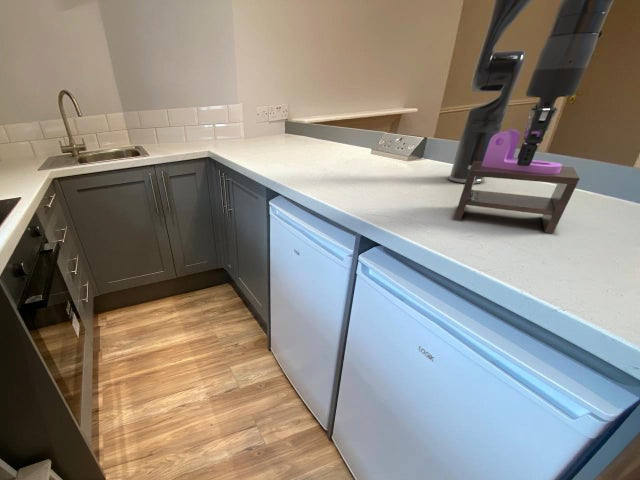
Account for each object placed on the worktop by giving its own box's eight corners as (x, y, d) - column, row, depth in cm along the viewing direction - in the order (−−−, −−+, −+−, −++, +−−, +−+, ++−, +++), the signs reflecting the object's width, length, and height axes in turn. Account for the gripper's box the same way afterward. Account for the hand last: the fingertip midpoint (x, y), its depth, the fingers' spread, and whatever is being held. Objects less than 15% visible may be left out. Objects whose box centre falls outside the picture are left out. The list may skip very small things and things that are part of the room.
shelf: (459, 206, 86) (474, 160, 80) (549, 218, 77) (573, 167, 71) (453, 219, 78) (469, 169, 72) (553, 233, 69) (580, 178, 64)
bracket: (481, 166, 75) (492, 131, 71) (491, 162, 78) (503, 128, 74) (554, 175, 66) (572, 136, 62) (562, 170, 69) (580, 132, 65)
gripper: (593, 64, 55) (547, 170, 64) (582, 65, 65) (544, 158, 74) (535, 67, 59) (499, 167, 68) (534, 68, 69) (502, 155, 78)
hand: (523, 162), depth 71 cm, fingers closed on bracket, 6 cm apart
